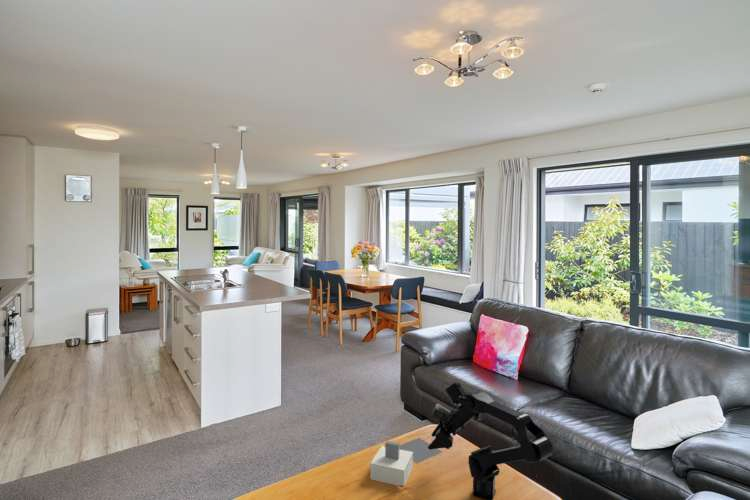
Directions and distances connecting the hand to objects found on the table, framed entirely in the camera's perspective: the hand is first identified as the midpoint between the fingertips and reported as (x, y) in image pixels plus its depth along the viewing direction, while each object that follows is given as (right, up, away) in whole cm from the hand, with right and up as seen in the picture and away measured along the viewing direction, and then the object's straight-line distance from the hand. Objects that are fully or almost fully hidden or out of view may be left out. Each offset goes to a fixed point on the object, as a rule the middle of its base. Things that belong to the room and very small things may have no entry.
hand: (430, 441), depth 149 cm
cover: (-14, -12, +1) cm, 19 cm away
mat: (-3, -12, +17) cm, 21 cm away
